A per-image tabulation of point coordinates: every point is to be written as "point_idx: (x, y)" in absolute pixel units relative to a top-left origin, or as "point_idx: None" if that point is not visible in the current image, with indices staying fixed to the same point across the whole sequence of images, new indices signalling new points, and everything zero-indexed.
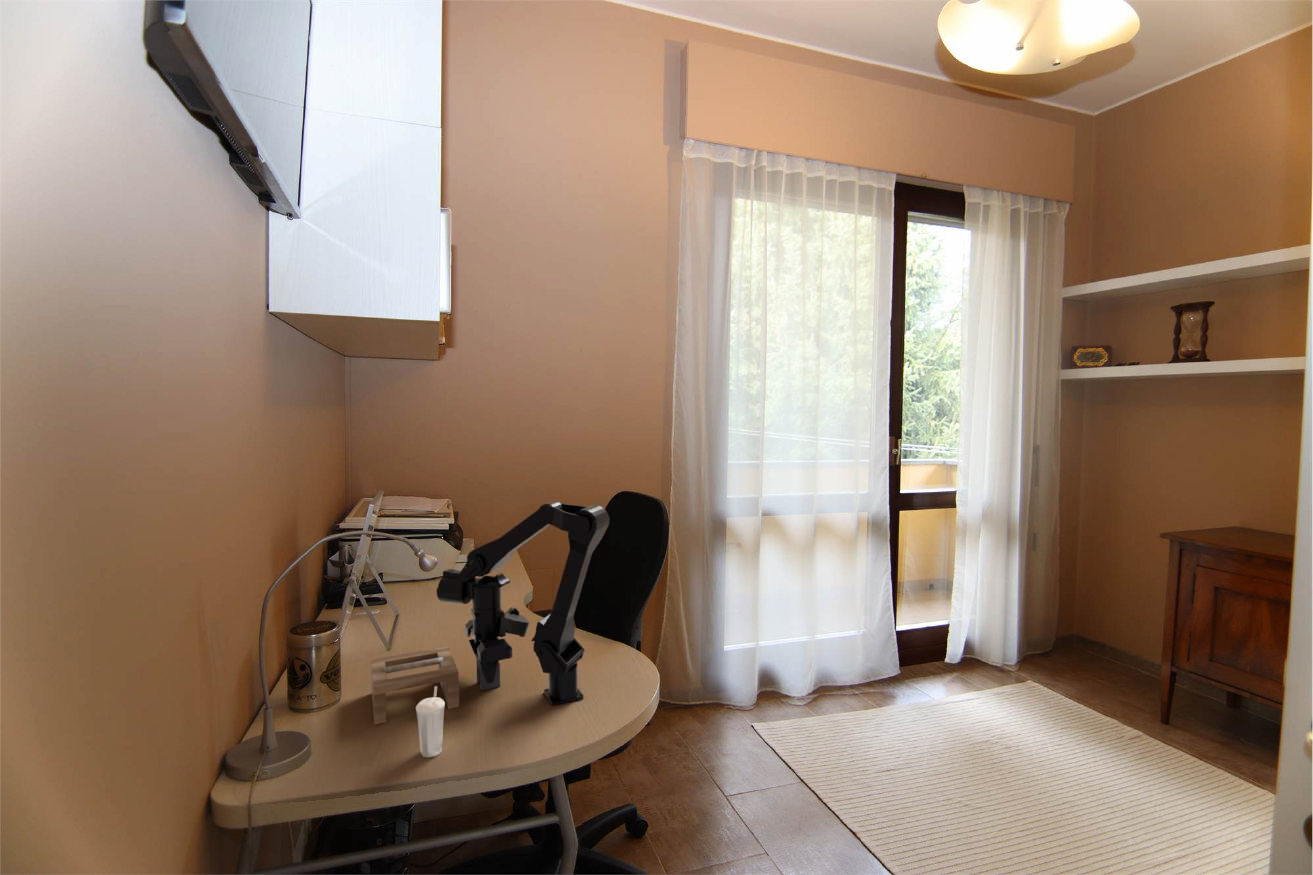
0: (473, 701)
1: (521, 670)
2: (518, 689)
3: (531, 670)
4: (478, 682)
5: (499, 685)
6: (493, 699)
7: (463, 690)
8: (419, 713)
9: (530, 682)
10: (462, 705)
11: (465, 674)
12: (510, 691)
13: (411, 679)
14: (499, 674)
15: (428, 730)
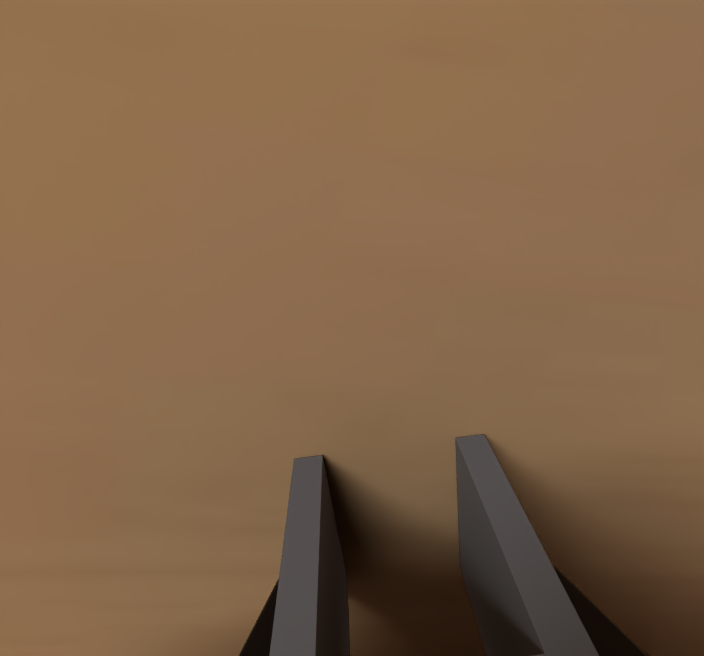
0: (633, 595)
1: (106, 170)
2: (652, 271)
3: (127, 2)
4: (345, 584)
5: (486, 446)
6: (700, 487)
7: (420, 644)
8: None
9: (548, 92)
10: (646, 642)
11: (131, 642)
12: (644, 353)
13: None
14: (538, 545)
15: None
